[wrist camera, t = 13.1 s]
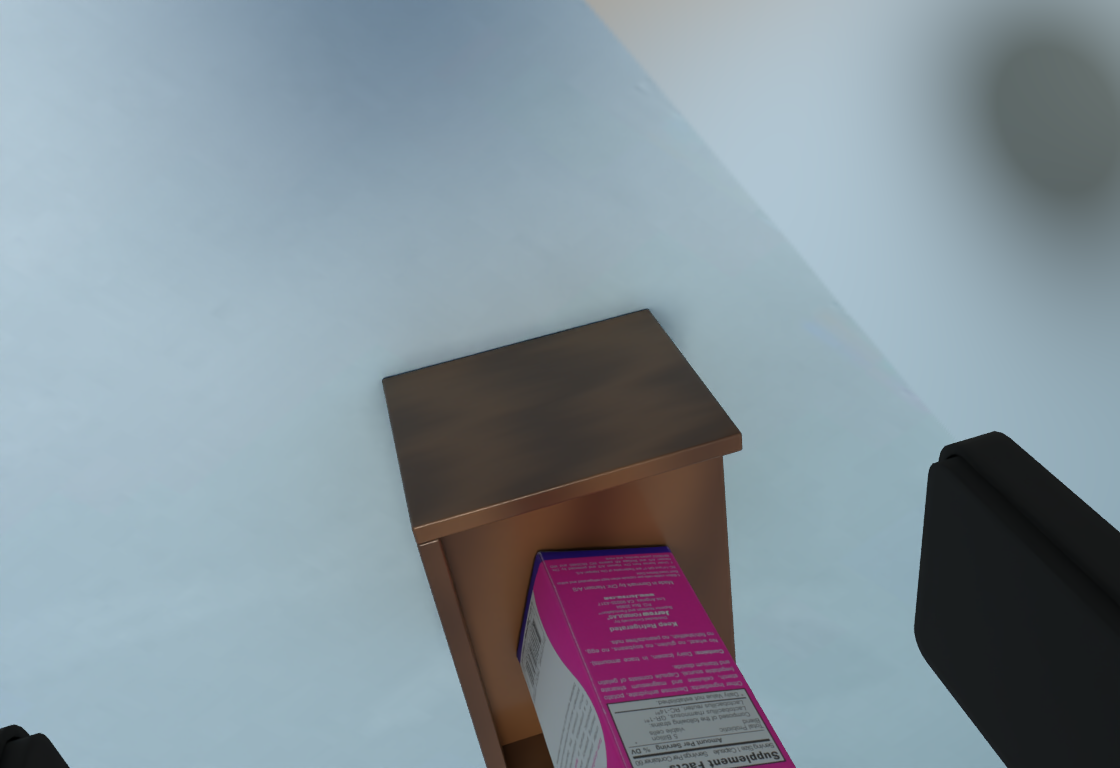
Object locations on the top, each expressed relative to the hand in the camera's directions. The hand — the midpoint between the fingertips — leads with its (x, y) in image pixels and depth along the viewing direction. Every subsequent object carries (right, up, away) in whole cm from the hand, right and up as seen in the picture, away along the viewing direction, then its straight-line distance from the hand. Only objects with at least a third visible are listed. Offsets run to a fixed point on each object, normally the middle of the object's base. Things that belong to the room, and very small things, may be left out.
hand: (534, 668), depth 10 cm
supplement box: (+2, -6, +29) cm, 30 cm away
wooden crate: (0, -2, +35) cm, 35 cm away
